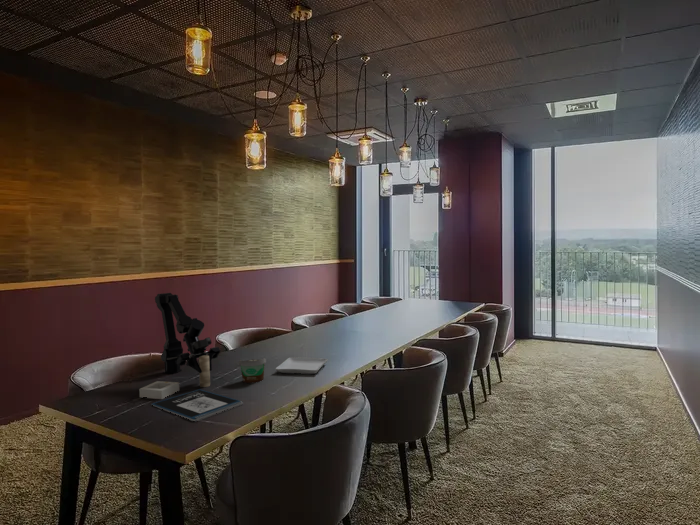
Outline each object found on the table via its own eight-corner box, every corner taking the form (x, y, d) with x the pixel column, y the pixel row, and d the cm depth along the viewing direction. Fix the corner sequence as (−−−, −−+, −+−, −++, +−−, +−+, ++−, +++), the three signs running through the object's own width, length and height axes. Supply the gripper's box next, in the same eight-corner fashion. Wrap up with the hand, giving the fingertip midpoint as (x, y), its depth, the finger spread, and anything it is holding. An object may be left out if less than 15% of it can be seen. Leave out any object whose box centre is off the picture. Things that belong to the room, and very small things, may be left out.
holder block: (139, 397, 191) (139, 388, 191) (157, 388, 201) (157, 380, 201) (162, 399, 188) (161, 390, 187) (179, 390, 198) (179, 382, 198)
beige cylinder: (197, 386, 203) (196, 357, 202) (203, 383, 207) (202, 355, 206) (206, 387, 201) (205, 358, 201) (212, 384, 206) (211, 355, 205)
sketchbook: (199, 392, 198) (199, 387, 198) (244, 406, 179) (244, 400, 179) (151, 406, 181) (151, 401, 181) (195, 423, 162) (195, 417, 162)
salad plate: (317, 376, 215) (317, 369, 215) (274, 375, 219) (274, 368, 219) (328, 364, 236) (328, 358, 236) (289, 363, 240) (289, 357, 240)
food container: (239, 385, 204) (239, 362, 203) (239, 381, 210) (238, 359, 209) (268, 382, 207) (267, 360, 207) (266, 378, 213) (266, 357, 213)
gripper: (178, 335, 199) (191, 365, 192) (217, 329, 213) (231, 356, 205) (171, 351, 205) (183, 380, 198) (210, 343, 218) (222, 371, 211)
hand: (206, 371), depth 203 cm, fingers closed on beige cylinder, 4 cm apart
